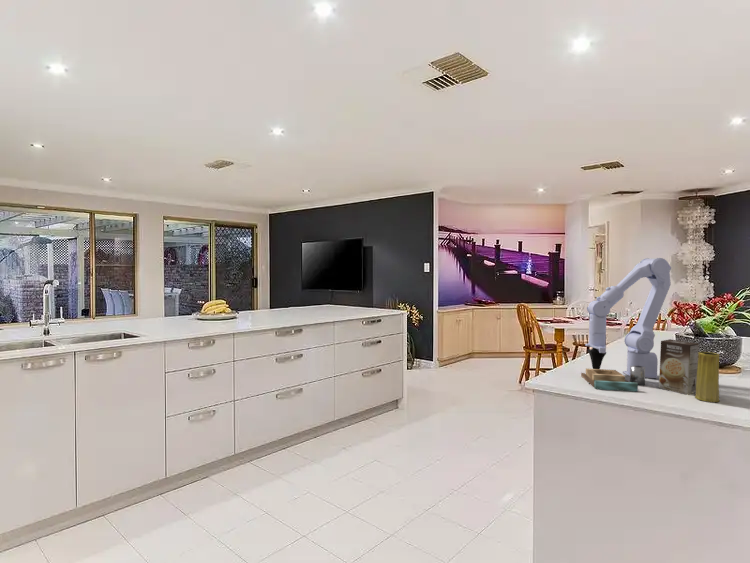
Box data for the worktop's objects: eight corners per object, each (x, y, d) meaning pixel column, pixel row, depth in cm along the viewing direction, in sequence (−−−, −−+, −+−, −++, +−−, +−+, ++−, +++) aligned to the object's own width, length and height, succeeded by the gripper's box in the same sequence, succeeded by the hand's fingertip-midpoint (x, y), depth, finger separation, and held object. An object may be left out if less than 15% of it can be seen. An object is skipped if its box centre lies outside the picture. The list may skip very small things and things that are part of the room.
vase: (723, 403, 137) (725, 355, 136) (700, 401, 138) (702, 354, 138) (713, 397, 143) (714, 351, 142) (691, 396, 144) (692, 350, 144)
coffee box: (657, 388, 153) (659, 340, 153) (667, 385, 157) (668, 339, 156) (688, 395, 145) (689, 344, 145) (697, 392, 149) (699, 343, 148)
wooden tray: (615, 378, 166) (615, 369, 166) (624, 385, 157) (625, 376, 156) (585, 376, 168) (585, 368, 168) (593, 383, 158) (593, 374, 158)
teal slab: (618, 378, 167) (618, 371, 167) (637, 391, 149) (637, 383, 149) (581, 376, 169) (581, 369, 169) (595, 388, 151) (595, 381, 151)
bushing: (641, 382, 160) (642, 365, 160) (646, 385, 156) (647, 368, 156) (628, 382, 161) (628, 364, 161) (632, 385, 157) (633, 367, 157)
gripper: (581, 329, 180) (579, 364, 180) (591, 335, 165) (590, 372, 166) (600, 330, 178) (599, 365, 179) (612, 335, 164) (611, 373, 165)
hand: (596, 368), depth 172 cm, fingers closed
